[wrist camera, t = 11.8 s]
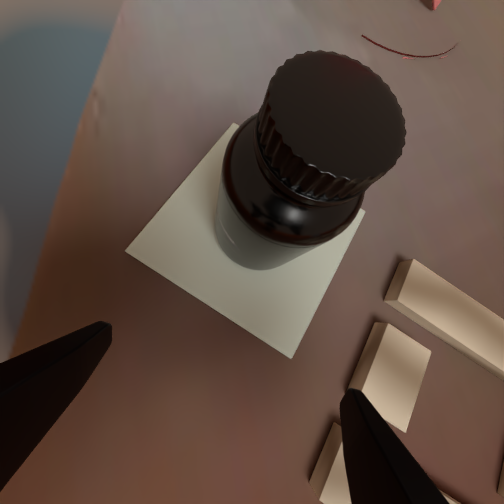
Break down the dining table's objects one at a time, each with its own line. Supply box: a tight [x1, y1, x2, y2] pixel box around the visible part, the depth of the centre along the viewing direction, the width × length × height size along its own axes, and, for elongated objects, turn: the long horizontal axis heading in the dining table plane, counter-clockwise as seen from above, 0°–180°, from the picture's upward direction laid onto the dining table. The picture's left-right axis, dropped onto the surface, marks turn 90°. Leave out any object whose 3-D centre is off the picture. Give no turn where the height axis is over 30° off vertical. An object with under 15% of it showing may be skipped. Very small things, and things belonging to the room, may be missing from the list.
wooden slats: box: [309, 259, 504, 504], centre depth 18 cm, size 18×18×2 cm
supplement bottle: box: [215, 50, 406, 270], centre depth 13 cm, size 7×7×12 cm
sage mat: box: [125, 123, 365, 359], centre depth 19 cm, size 14×14×1 cm
